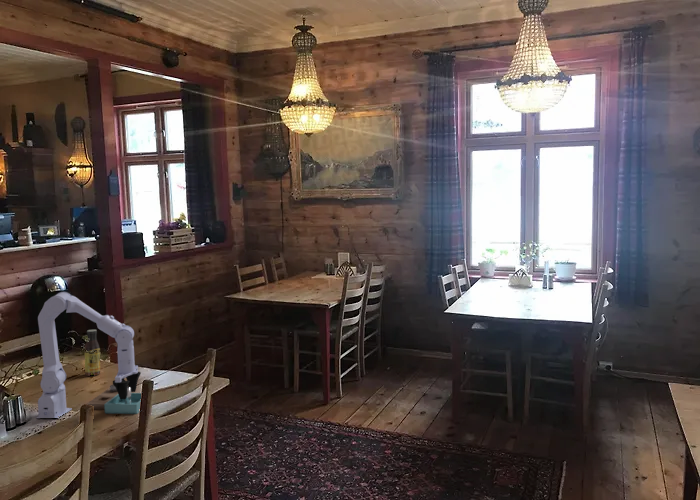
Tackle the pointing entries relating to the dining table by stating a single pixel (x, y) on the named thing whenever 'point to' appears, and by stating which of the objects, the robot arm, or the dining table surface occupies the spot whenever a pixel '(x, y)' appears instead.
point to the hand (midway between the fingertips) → (127, 395)
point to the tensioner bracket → (103, 398)
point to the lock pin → (128, 396)
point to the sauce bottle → (92, 354)
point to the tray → (123, 405)
